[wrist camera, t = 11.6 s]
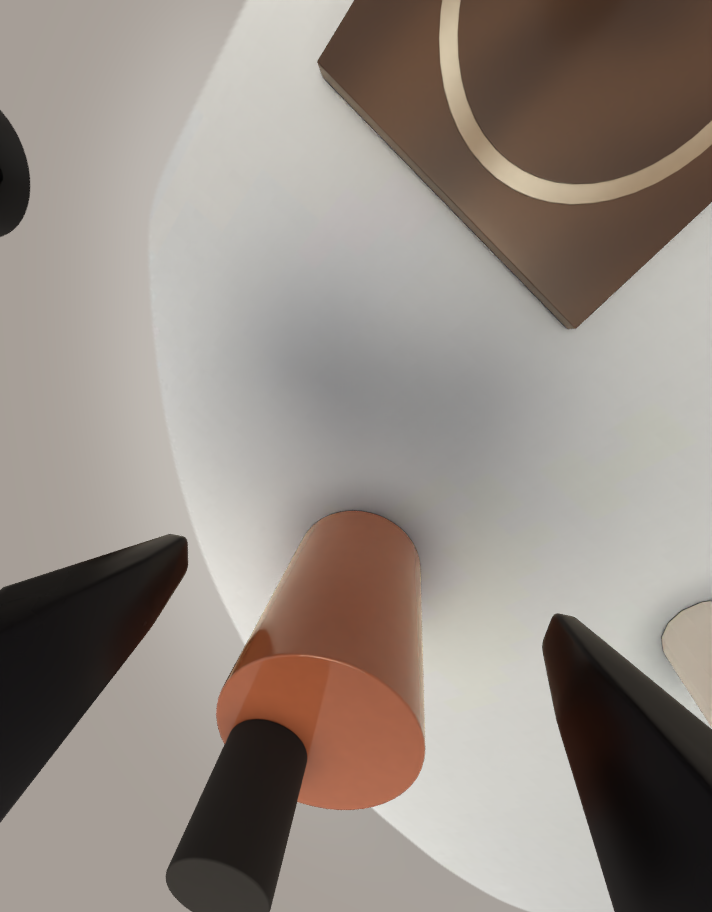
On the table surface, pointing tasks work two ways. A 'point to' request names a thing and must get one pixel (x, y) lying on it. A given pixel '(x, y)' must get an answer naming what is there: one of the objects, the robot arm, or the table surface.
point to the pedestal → (341, 662)
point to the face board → (543, 125)
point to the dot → (241, 822)
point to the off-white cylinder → (692, 652)
